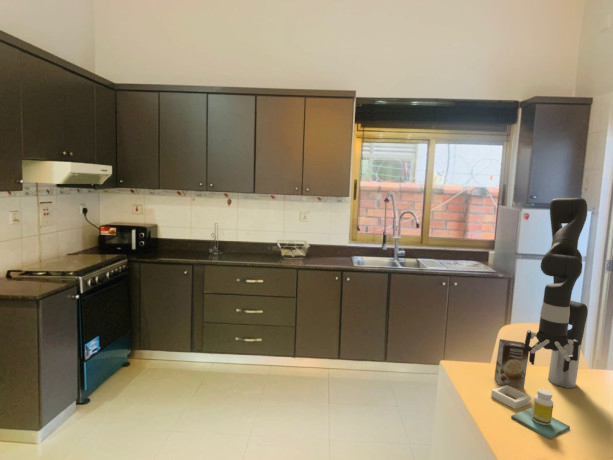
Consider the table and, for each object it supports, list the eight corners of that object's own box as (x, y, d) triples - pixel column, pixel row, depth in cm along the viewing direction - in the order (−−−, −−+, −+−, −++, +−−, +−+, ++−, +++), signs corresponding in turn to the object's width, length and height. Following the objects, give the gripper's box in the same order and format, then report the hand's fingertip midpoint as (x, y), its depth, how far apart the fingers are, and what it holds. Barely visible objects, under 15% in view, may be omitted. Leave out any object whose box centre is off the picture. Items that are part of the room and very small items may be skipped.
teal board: (531, 409, 134) (531, 407, 134) (569, 428, 124) (569, 426, 124) (511, 417, 128) (511, 415, 128) (549, 438, 118) (549, 436, 118)
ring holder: (505, 391, 146) (506, 384, 145) (530, 403, 138) (530, 396, 138) (491, 396, 141) (491, 389, 141) (515, 409, 133) (516, 402, 133)
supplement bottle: (553, 427, 123) (557, 397, 122) (534, 424, 124) (538, 394, 123) (546, 417, 128) (550, 389, 127) (528, 414, 129) (532, 386, 128)
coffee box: (498, 385, 150) (503, 344, 148) (493, 377, 156) (498, 338, 155) (524, 388, 149) (529, 348, 147) (518, 380, 155) (523, 341, 153)
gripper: (528, 316, 122) (522, 365, 124) (583, 326, 115) (576, 378, 117) (528, 310, 129) (522, 357, 130) (580, 319, 122) (573, 369, 124)
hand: (548, 367), depth 124 cm, fingers open, 8 cm apart
